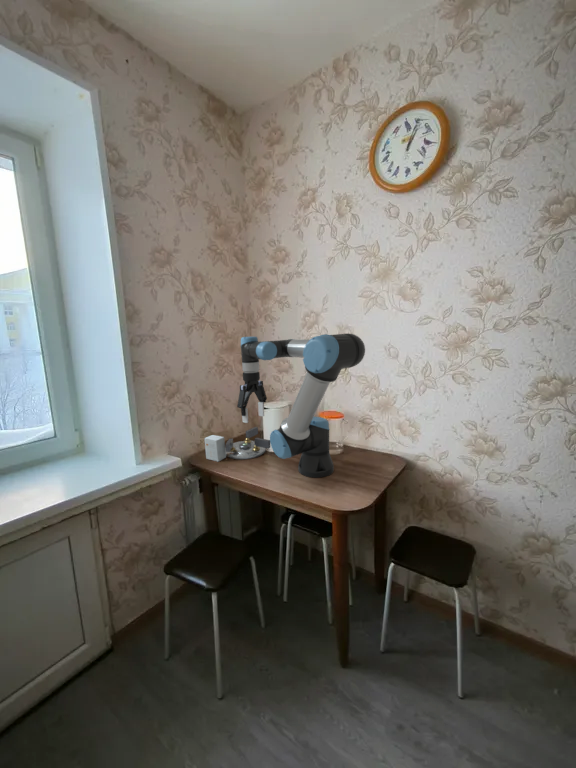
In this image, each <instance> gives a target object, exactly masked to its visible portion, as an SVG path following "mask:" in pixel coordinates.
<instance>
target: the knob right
mask: <svg viewBox="0 0 576 768" xmlns="http://www.w3.org/2000/svg"><path fill="white" fill-rule="evenodd" d="M257 435H259V427H258V426H254V427H252V428H250V429H248V430H245V439H244V440H243V441H244V443H251V441H252V440H251V439H250V438H253V437H254V436H257Z"/></svg>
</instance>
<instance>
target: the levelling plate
mask: <svg viewBox="0 0 576 768" xmlns="http://www.w3.org/2000/svg"><path fill="white" fill-rule="evenodd" d="M254 445H255V440H251V443H244V440H243V441H242V440H241V441H236V442H233V447H235V451H230V452H226V458H229V459H233V460H249V459H255V458H258V457H260V456H262V455H264V453H266V448H263V447H260V450H259V451H253V447H254ZM225 451H226V447H225Z"/></svg>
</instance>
